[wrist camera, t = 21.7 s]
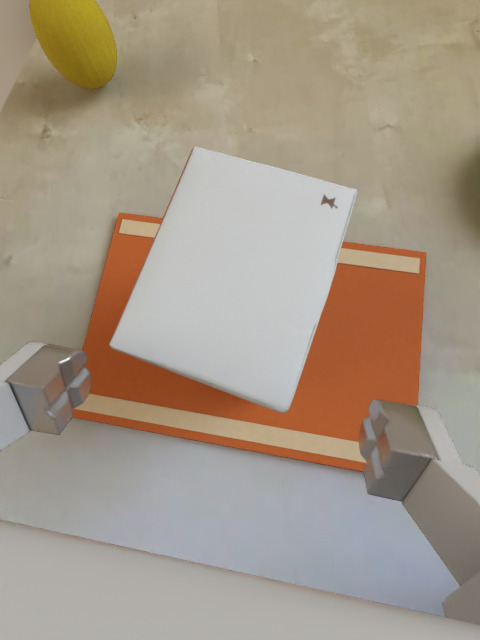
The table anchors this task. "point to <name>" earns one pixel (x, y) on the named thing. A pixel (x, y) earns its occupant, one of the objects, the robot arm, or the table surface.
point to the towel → (317, 375)
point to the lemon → (76, 40)
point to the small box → (237, 277)
